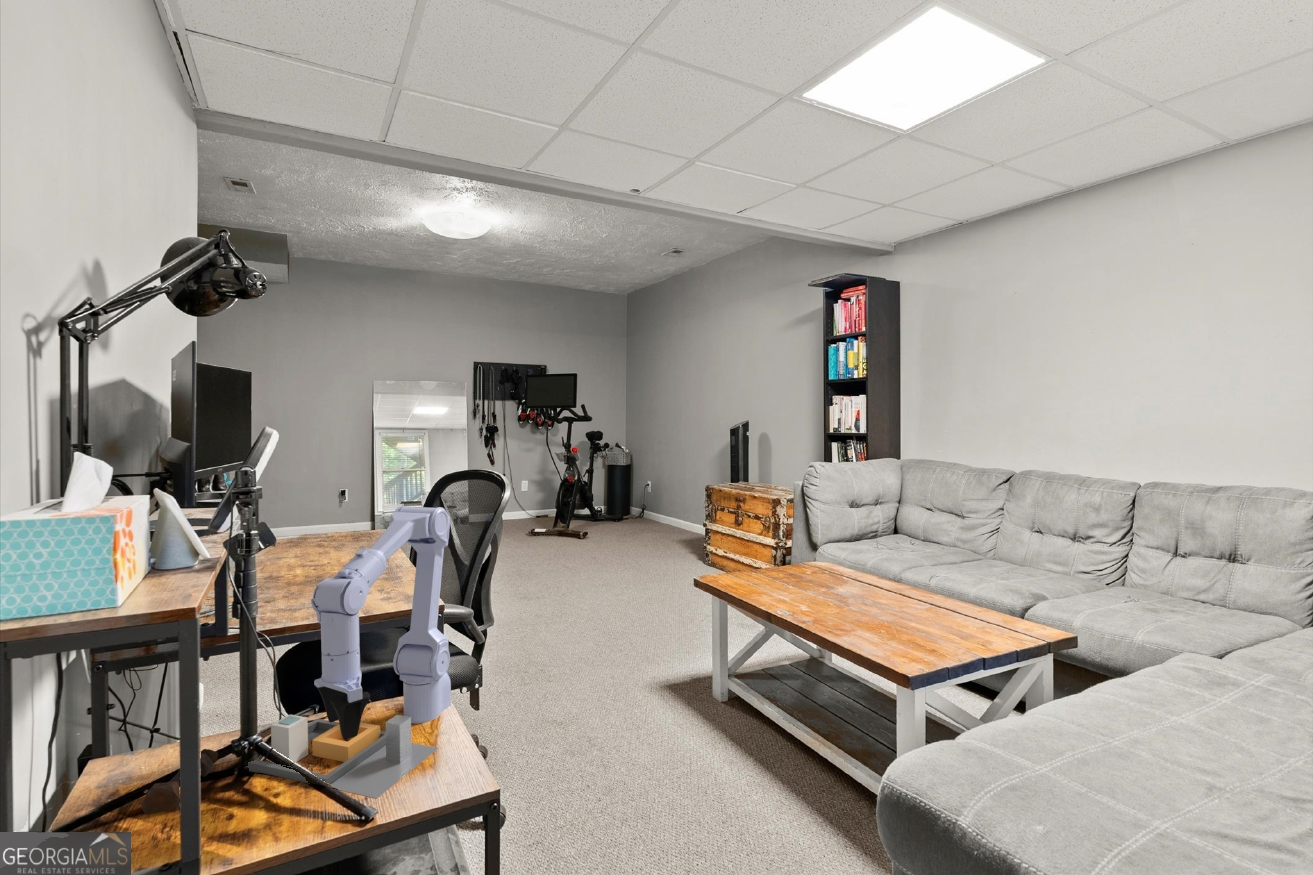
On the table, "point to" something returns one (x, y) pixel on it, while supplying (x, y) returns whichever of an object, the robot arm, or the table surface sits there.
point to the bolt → (173, 788)
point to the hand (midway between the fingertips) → (342, 728)
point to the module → (290, 737)
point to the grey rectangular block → (398, 739)
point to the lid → (380, 772)
